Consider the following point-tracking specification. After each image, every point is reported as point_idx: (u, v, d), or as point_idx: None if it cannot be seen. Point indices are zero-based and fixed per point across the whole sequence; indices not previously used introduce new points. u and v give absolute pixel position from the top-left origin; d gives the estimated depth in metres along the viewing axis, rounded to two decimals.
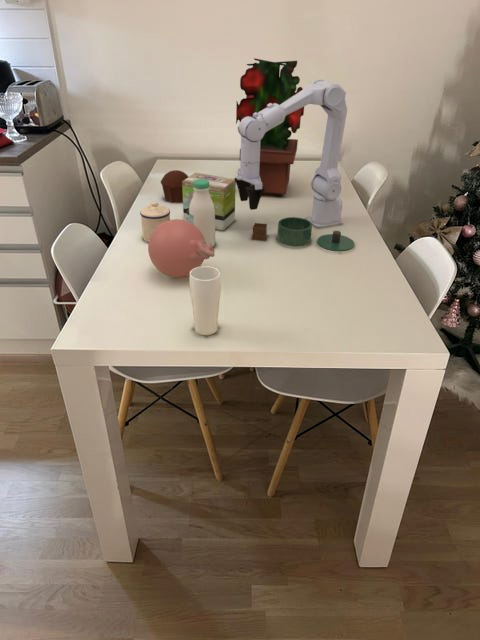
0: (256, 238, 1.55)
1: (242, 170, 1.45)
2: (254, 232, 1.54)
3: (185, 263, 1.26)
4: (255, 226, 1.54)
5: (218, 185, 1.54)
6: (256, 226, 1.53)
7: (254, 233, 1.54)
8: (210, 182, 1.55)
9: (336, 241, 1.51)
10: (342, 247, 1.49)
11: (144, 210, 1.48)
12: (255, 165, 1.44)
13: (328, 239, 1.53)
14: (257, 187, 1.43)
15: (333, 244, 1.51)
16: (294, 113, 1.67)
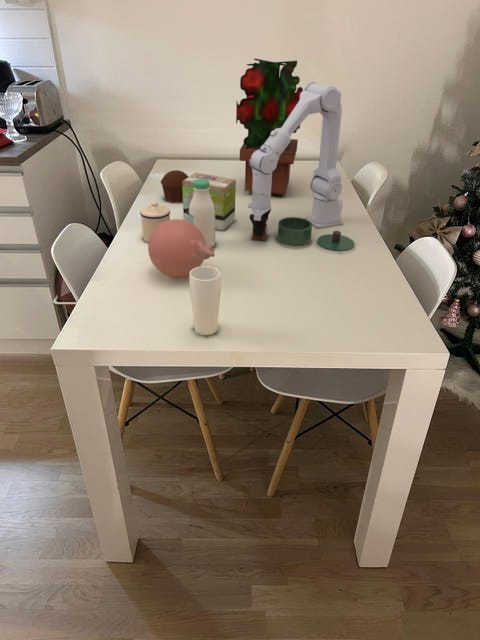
0: (256, 238, 1.55)
1: (252, 199, 1.49)
2: None
3: (185, 263, 1.26)
4: None
5: (218, 185, 1.54)
6: None
7: (254, 233, 1.54)
8: (210, 182, 1.55)
9: (336, 241, 1.51)
10: (342, 247, 1.49)
11: (144, 210, 1.48)
12: (262, 197, 1.46)
13: (328, 239, 1.53)
14: (255, 218, 1.45)
15: (333, 244, 1.51)
16: None
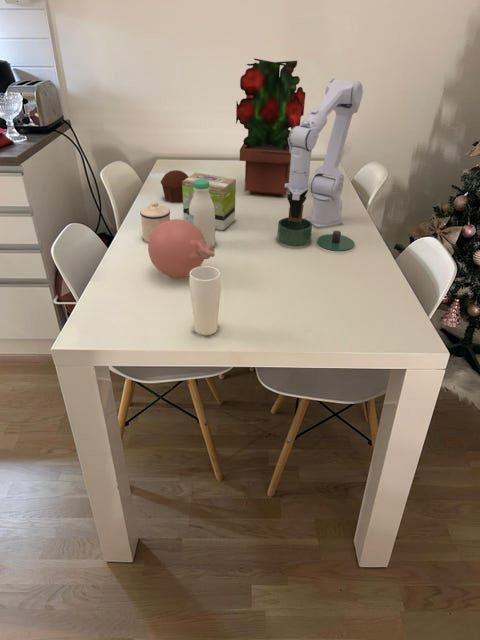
0: (292, 220, 1.49)
1: (289, 178, 1.43)
2: (290, 213, 1.48)
3: (185, 263, 1.26)
4: None
5: (218, 185, 1.54)
6: None
7: (290, 214, 1.48)
8: (210, 182, 1.55)
9: (336, 241, 1.51)
10: (342, 247, 1.49)
11: (144, 210, 1.48)
12: (300, 175, 1.40)
13: (328, 239, 1.53)
14: (293, 197, 1.40)
15: (333, 244, 1.51)
16: (294, 113, 1.67)
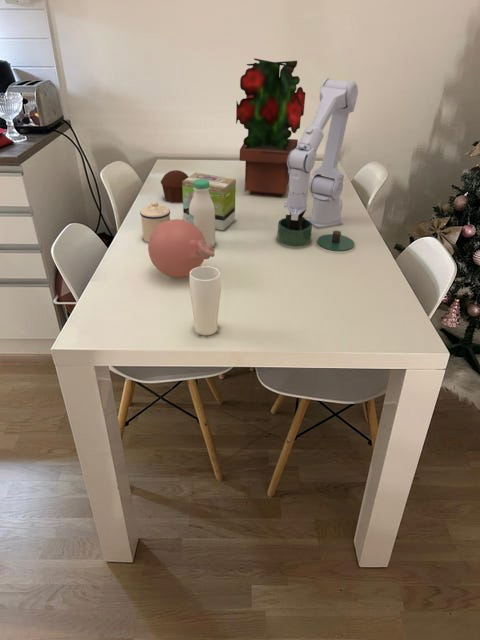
0: None
1: (288, 198, 1.47)
2: None
3: (185, 263, 1.26)
4: None
5: (218, 185, 1.54)
6: None
7: None
8: (210, 182, 1.55)
9: (336, 241, 1.51)
10: (342, 247, 1.49)
11: (144, 210, 1.48)
12: (299, 196, 1.44)
13: (328, 239, 1.53)
14: (292, 218, 1.43)
15: (333, 244, 1.51)
16: (294, 113, 1.67)
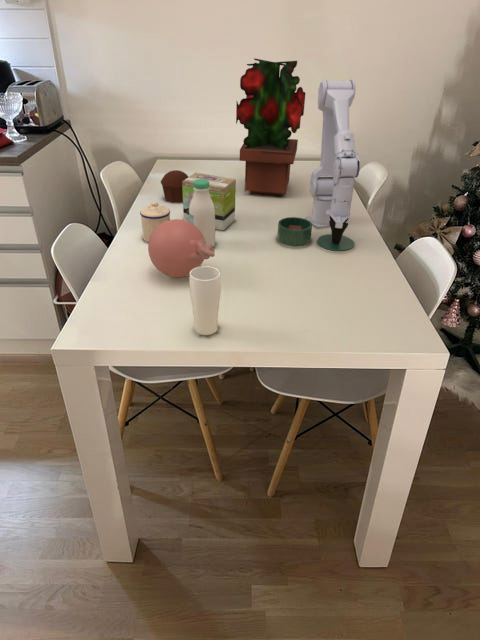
0: None
1: (331, 206, 1.46)
2: None
3: (185, 263, 1.26)
4: (290, 228, 1.52)
5: (218, 185, 1.54)
6: (291, 228, 1.52)
7: None
8: (210, 182, 1.55)
9: None
10: (342, 247, 1.49)
11: (144, 210, 1.48)
12: (343, 204, 1.43)
13: (328, 239, 1.53)
14: (337, 225, 1.42)
15: (333, 244, 1.51)
16: (294, 113, 1.67)
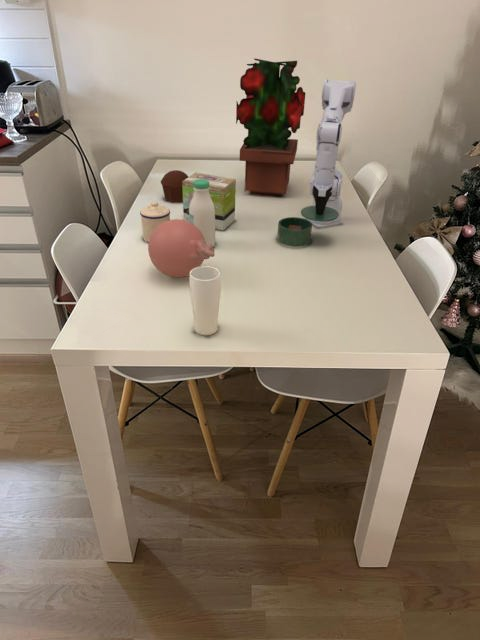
0: None
1: (314, 174, 1.42)
2: None
3: (185, 263, 1.26)
4: (290, 228, 1.52)
5: (218, 185, 1.54)
6: (291, 228, 1.52)
7: None
8: (210, 182, 1.55)
9: None
10: (326, 217, 1.45)
11: (144, 210, 1.48)
12: (326, 171, 1.38)
13: (311, 210, 1.49)
14: (320, 194, 1.38)
15: (317, 215, 1.47)
16: (294, 113, 1.67)
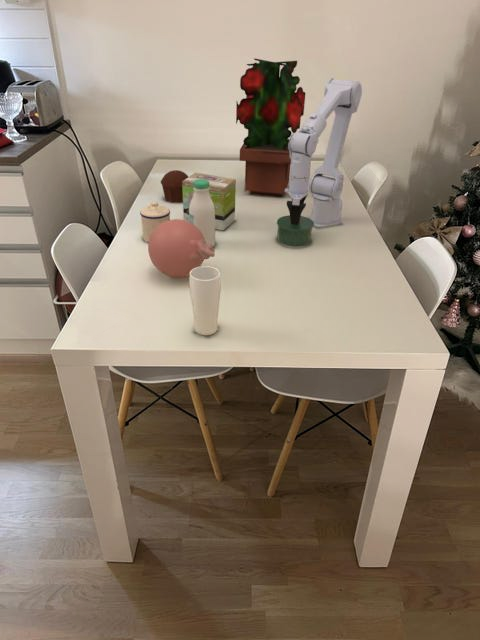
0: None
1: (289, 183, 1.44)
2: None
3: (185, 263, 1.26)
4: None
5: (218, 185, 1.54)
6: None
7: None
8: (210, 182, 1.55)
9: None
10: (301, 227, 1.48)
11: (144, 210, 1.48)
12: (300, 181, 1.41)
13: (287, 220, 1.52)
14: (293, 202, 1.41)
15: None
16: (294, 113, 1.67)
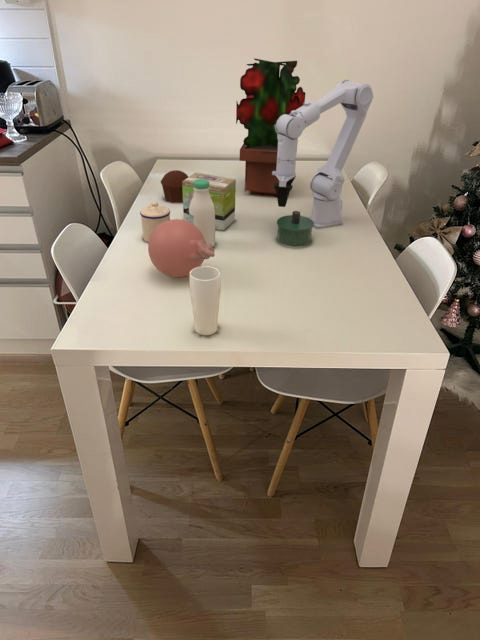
0: None
1: (276, 166, 1.47)
2: None
3: (185, 263, 1.26)
4: None
5: (218, 185, 1.54)
6: None
7: None
8: (210, 182, 1.55)
9: (295, 221, 1.50)
10: (301, 227, 1.48)
11: (144, 210, 1.48)
12: (287, 163, 1.44)
13: (287, 220, 1.52)
14: (280, 184, 1.44)
15: (292, 224, 1.50)
16: None
